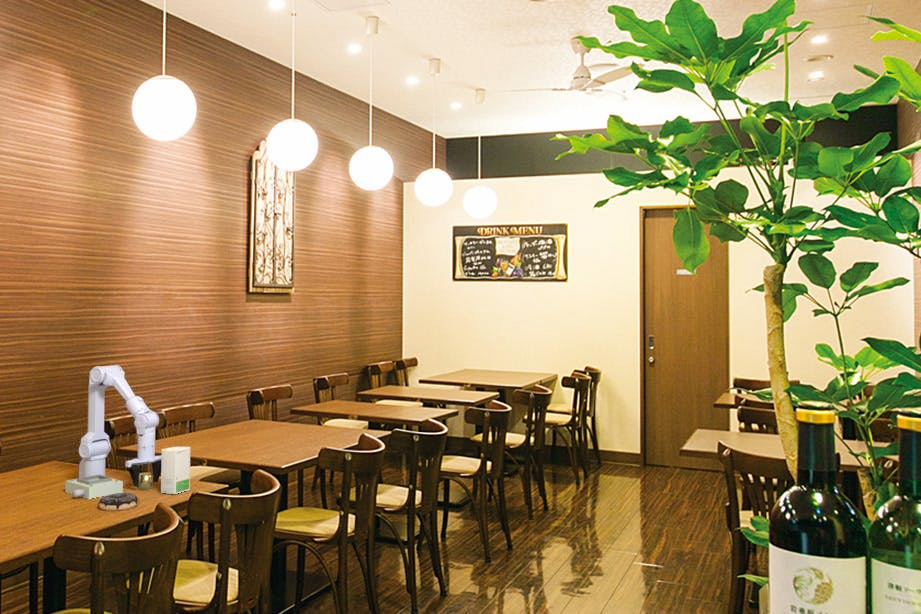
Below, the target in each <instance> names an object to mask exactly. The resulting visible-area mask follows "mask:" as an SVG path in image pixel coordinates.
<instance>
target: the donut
mask: <svg viewBox="0 0 921 614" xmlns="http://www.w3.org/2000/svg"><path fill="white" fill-rule="evenodd" d="M138 505H139V497H138V496H137V494H134V493H131V492H123V493H116V494H110V495H107V496H104V497H100V500H99V501H98V503H97V507H99V509H100V510H101V509H102V511H105V510H106V511H107V512H119V511H118V510H121V511H127V509H128V510H130V509H133V508H135V507H137V506H138ZM106 511H105V512H106Z"/></svg>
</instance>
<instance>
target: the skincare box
mask: <svg viewBox="0 0 921 614" xmlns="http://www.w3.org/2000/svg"><path fill="white" fill-rule="evenodd" d="M160 451H161V455H162V462H161V474H160V481H161V482H160V494H162V493H166V494H165V495H171V494H174V496H175V494H176V495H178V493H179V494H182V493H185V492H184V491H186V492H188V491H190V490H191V446H172V447H166V448H161V450H160ZM181 492H182V493H181Z"/></svg>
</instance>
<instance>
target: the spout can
mask: <svg viewBox="0 0 921 614" xmlns="http://www.w3.org/2000/svg"><path fill="white" fill-rule="evenodd" d="M148 489H151V490H153V472H150V471H149V472H146V471H145V472H140V473H139V485H138V490H139V491H149V490H148Z"/></svg>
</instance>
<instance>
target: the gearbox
mask: <svg viewBox="0 0 921 614" xmlns="http://www.w3.org/2000/svg"><path fill="white" fill-rule="evenodd" d="M64 486H65V487H64V488H65V493H66V492H67V494H69V493H70V495H72V497H73V498H74V499H75V498H83V499H86V498H87V499H86V500H93V499H92V498H94V499H97V498H96V497H99V498H102V496H107V495H110V494H116V493H124V481H123V480H119V479H116V478H113V477H110V476H106V475H105V476H103V475H95V476H89V477H83V478H79V477H78V478H75V479H74V478H73V479H69V480H65V485H64ZM80 496H81V497H80Z"/></svg>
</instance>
